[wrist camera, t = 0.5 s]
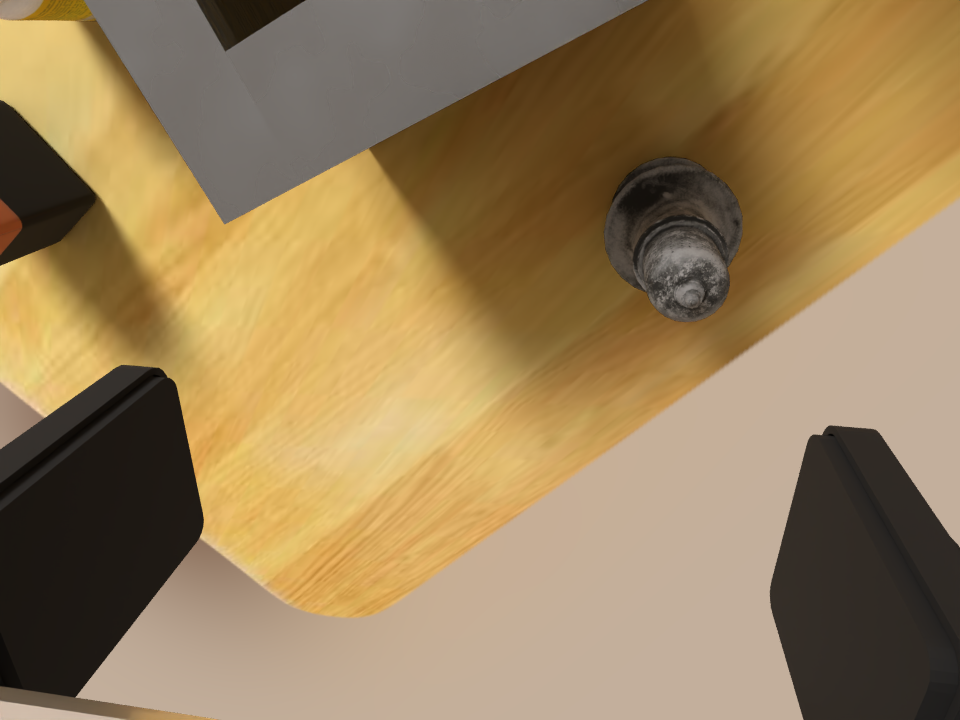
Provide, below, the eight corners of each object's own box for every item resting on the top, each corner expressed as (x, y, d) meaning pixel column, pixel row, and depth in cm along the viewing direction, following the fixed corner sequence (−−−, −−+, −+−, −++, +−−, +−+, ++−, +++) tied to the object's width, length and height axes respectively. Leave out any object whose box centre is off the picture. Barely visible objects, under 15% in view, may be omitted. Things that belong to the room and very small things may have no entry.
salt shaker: (703, 284, 35) (745, 401, 24) (589, 253, 35) (581, 356, 24) (749, 168, 32) (821, 242, 21) (626, 136, 32) (635, 193, 21)
